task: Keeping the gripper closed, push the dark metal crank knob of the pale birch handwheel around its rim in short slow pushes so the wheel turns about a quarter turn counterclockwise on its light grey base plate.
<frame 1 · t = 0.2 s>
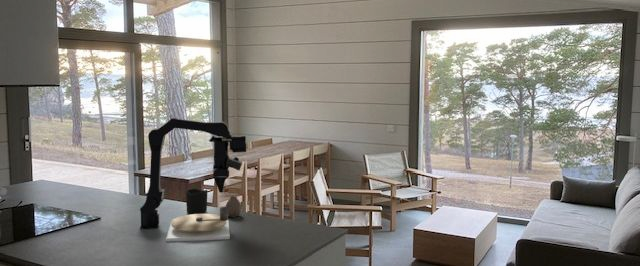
hand: (220, 190, 214), 14 cm above the kitchen island, tool pointing down, fingers open, 9 cm apart
pen holder: (196, 213, 234), on the kitchen island
vase: (233, 216, 230), on the kitchen island
handwheel: (199, 217, 205), point 5 cm above the kitchen island, hinge at 0.0°
base plate: (199, 231, 205), on the kitchen island
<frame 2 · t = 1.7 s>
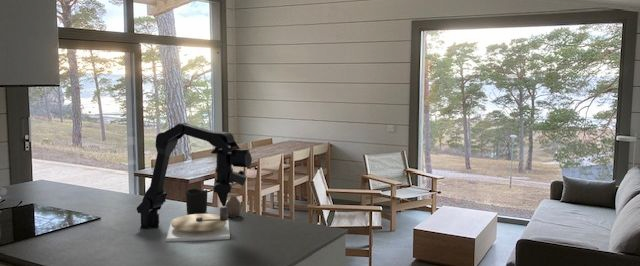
hand: (224, 206, 199), 12 cm above the kitchen island, tool pointing down, fingers closed
nothing on the kitchen island moved.
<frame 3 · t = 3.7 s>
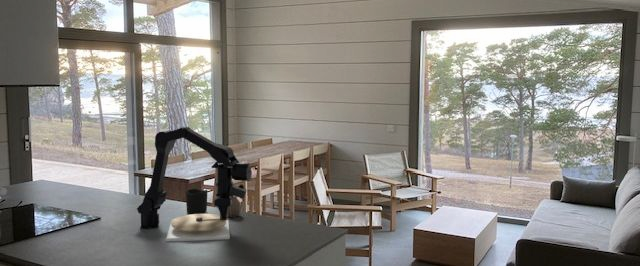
hand: (224, 219, 203), 6 cm above the kitchen island, tool pointing down, fingers closed
handwheel: (199, 217, 205), point 5 cm above the kitchen island, hinge at 2.6°, touching gripper
everything else where it was.
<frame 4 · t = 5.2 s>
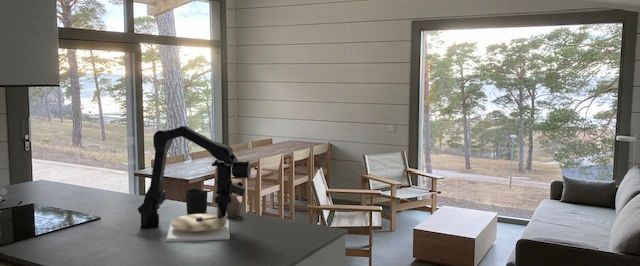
hand: (223, 216, 207), 6 cm above the kitchen island, tool pointing down, fingers closed
handwheel: (199, 217, 205), point 5 cm above the kitchen island, hinge at 27.3°, touching gripper
everything else where it was.
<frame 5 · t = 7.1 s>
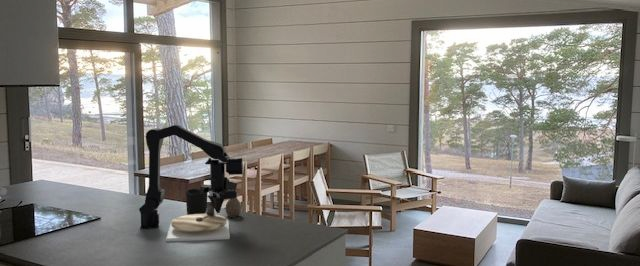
hand: (218, 212, 212), 6 cm above the kitchen island, tool pointing down, fingers closed
handwheel: (199, 217, 205), point 5 cm above the kitchen island, hinge at 63.1°, touching gripper
everything else where it was.
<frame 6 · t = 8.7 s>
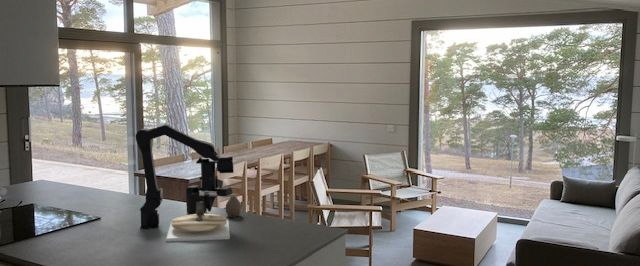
hand: (209, 211, 214), 6 cm above the kitchen island, tool pointing down, fingers closed
handwheel: (199, 217, 205), point 5 cm above the kitchen island, hinge at 89.9°, touching gripper
everything else where it was.
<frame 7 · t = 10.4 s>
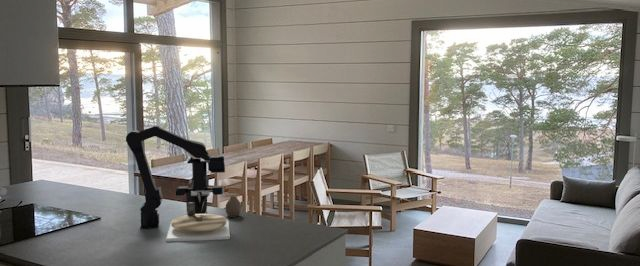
hand: (200, 211, 214), 6 cm above the kitchen island, tool pointing down, fingers closed
handwheel: (199, 217, 205), point 5 cm above the kitchen island, hinge at 111.4°, touching gripper
everything else where it was.
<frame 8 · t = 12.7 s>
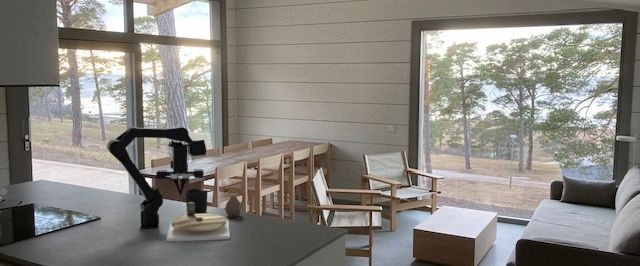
hand: (180, 194, 216), 12 cm above the kitchen island, tool pointing down, fingers closed
handwheel: (199, 217, 205), point 5 cm above the kitchen island, hinge at 112.1°
everything else where it was.
at the end: handwheel at +112° (first picture: +0°); vase moved 0.2 cm from its start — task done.
